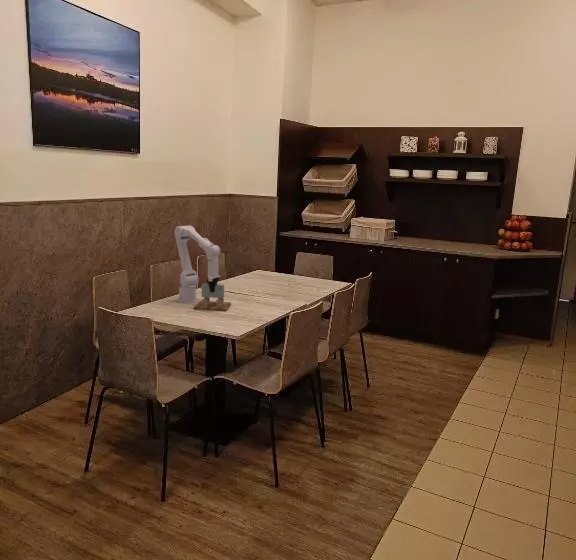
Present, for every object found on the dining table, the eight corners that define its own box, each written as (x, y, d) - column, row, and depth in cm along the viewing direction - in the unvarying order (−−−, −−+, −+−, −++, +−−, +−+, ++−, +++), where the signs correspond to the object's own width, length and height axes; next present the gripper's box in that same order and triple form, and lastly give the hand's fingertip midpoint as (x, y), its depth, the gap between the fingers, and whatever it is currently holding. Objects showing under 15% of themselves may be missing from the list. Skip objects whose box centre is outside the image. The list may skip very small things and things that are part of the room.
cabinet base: (193, 309, 277) (193, 300, 276) (199, 303, 290) (199, 294, 289) (226, 311, 276) (226, 302, 275) (230, 305, 289) (230, 296, 288)
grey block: (201, 297, 280) (201, 284, 279) (202, 295, 284) (202, 283, 282) (222, 298, 279) (222, 286, 278) (224, 296, 283) (224, 284, 282)
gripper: (217, 270, 271) (217, 294, 274) (222, 265, 285) (222, 288, 288) (204, 269, 272) (204, 294, 274) (210, 264, 286) (210, 288, 288)
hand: (212, 291), depth 281 cm, fingers closed on grey block, 3 cm apart
